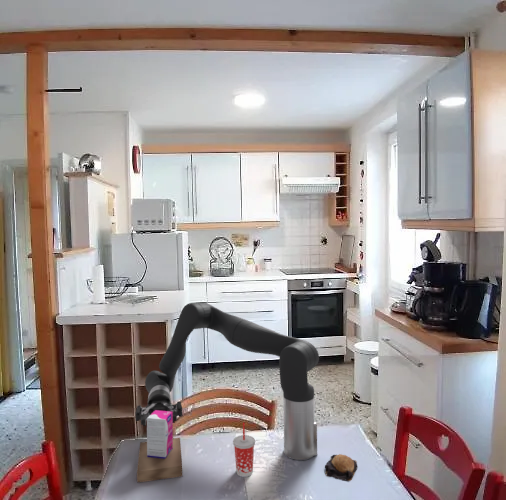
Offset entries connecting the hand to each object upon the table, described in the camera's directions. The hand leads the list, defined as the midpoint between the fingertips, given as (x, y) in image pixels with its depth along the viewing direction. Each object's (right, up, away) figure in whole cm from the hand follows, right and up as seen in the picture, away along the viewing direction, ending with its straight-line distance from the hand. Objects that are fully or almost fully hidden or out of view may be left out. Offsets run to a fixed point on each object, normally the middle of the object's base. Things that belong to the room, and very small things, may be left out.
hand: (159, 421), depth 124 cm
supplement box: (+1, -8, -3) cm, 9 cm away
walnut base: (+1, -11, -3) cm, 11 cm away
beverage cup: (+26, -11, -8) cm, 29 cm away
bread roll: (+53, -11, -7) cm, 54 cm away
